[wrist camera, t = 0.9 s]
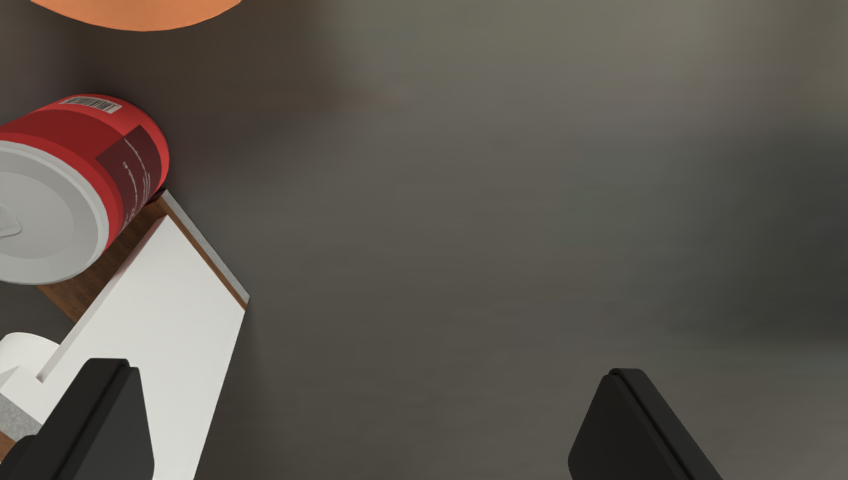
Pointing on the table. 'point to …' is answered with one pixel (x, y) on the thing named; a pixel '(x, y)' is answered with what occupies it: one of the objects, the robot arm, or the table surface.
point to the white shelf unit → (137, 335)
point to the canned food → (73, 184)
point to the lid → (139, 12)
